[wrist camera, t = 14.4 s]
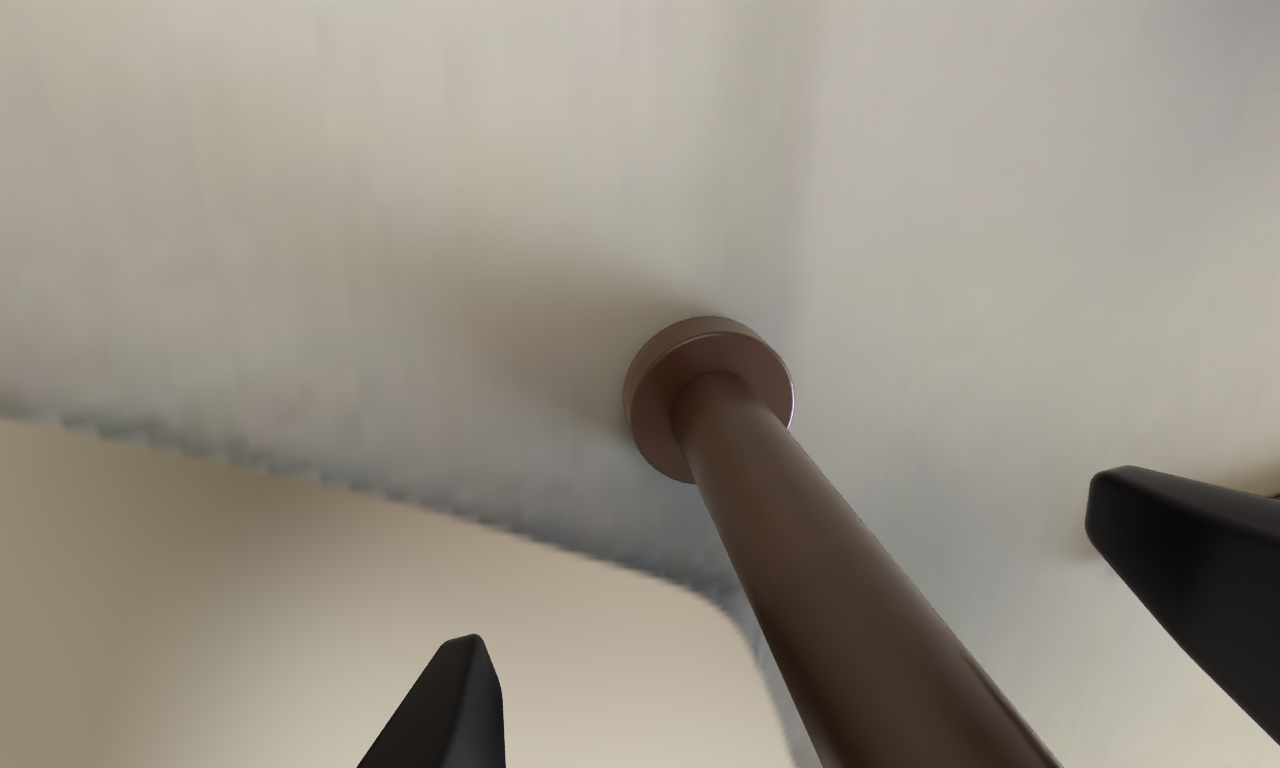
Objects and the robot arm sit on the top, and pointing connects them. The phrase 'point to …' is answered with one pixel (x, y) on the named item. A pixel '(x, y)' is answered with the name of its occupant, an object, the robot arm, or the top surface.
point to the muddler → (815, 565)
